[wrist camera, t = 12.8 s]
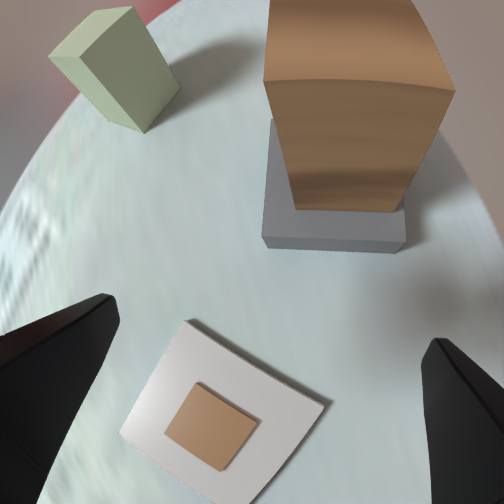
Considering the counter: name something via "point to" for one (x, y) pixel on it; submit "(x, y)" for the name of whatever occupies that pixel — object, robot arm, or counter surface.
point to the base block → (322, 218)
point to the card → (217, 419)
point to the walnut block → (353, 99)
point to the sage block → (117, 67)
